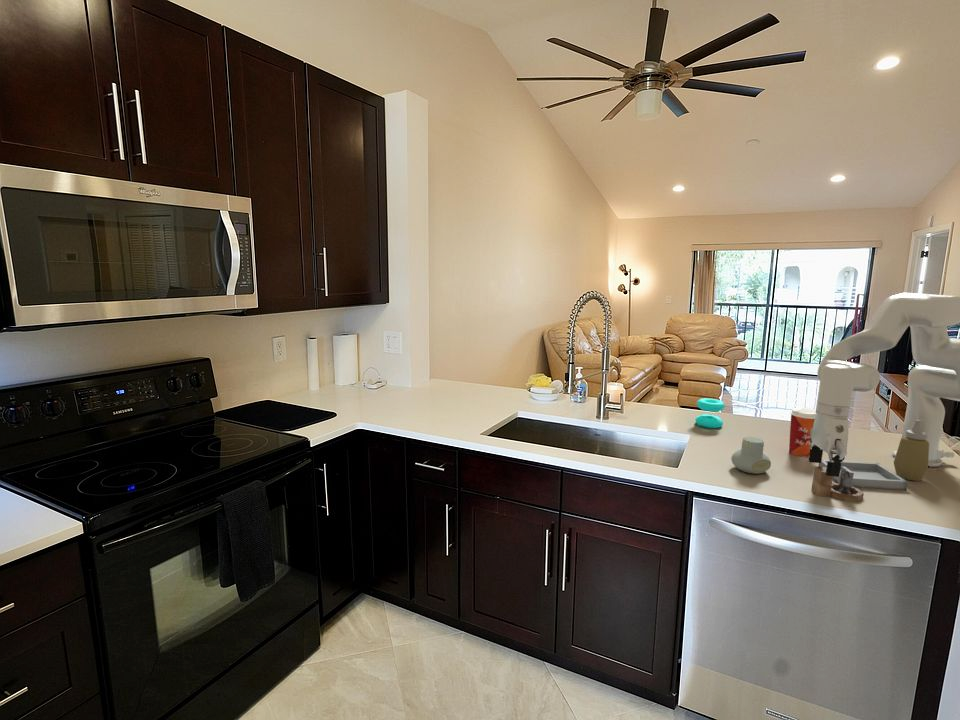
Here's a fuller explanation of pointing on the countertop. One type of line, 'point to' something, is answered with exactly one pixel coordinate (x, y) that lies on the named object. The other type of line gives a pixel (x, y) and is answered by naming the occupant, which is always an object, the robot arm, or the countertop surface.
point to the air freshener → (751, 456)
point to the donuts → (712, 406)
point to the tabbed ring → (831, 486)
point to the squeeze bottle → (912, 454)
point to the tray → (871, 475)
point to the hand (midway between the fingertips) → (823, 468)
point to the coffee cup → (801, 431)
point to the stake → (845, 480)
